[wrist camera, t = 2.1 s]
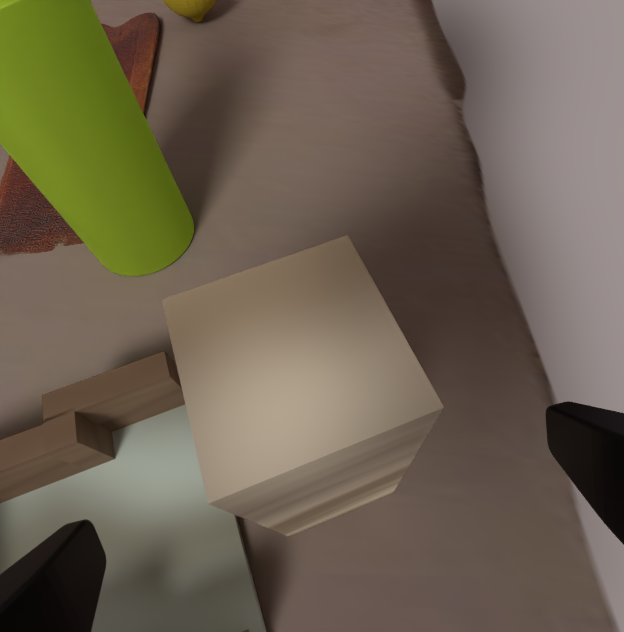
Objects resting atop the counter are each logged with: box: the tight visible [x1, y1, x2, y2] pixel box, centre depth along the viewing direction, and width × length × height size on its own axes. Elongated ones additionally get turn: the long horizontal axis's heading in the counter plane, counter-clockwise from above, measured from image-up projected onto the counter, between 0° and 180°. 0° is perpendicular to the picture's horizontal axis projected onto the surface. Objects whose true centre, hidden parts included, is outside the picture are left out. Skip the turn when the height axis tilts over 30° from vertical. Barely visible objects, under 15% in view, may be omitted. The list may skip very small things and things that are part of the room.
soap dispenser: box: [0, 0, 194, 276], centre depth 17 cm, size 6×7×20 cm
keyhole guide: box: [0, 351, 266, 632], centre depth 16 cm, size 12×12×3 cm
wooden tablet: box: [0, 13, 160, 255], centre depth 32 cm, size 27×10×2 cm, turn 5°
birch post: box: [162, 235, 444, 537], centre depth 13 cm, size 4×4×11 cm
